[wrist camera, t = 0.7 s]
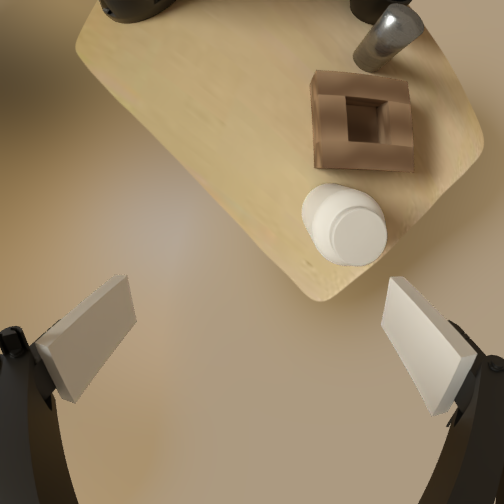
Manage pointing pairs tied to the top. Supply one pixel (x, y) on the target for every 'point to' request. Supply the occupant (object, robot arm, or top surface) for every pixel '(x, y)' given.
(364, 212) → the pill bottle
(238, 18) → the top surface
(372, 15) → the mug
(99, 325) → the robot arm
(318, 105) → the socket block
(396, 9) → the peg
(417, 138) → the top surface
